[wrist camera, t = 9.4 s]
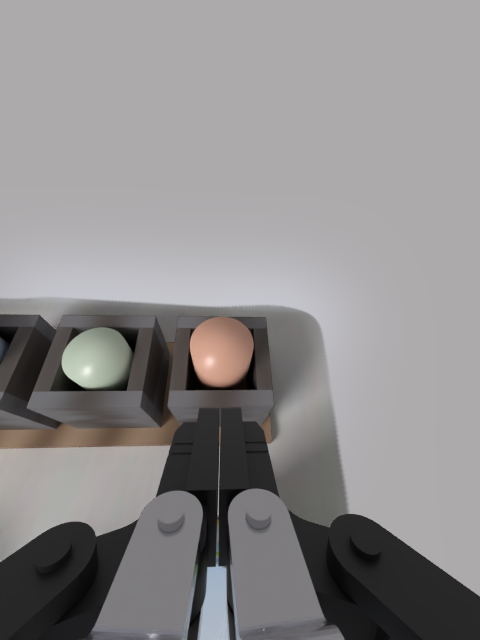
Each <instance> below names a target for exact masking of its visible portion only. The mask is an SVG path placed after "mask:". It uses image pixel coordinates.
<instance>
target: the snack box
mask: <svg viewBox="0 0 480 640" xmlns="http://www.w3.org/2000/svg"><path fill="white" fill-rule="evenodd" d="M226 591H227V589H226V566H219V519H218V518H217V543H216V567H207V584H206V595H205V600H204V603H203V616H202V624H201V633H200V640H228V629H227V613H226Z"/></svg>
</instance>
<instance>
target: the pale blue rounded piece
mask: <svg viewBox="0 0 480 640" xmlns="http://www.w3.org/2000/svg"><path fill="white" fill-rule="evenodd" d="M9 346H10V343H8V342H7V341H5V340H4V339H2V338H1V337H0V365H1V363H2V361H3V359H4V357H5V354H6V352H7V350H8V348H9Z"/></svg>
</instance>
